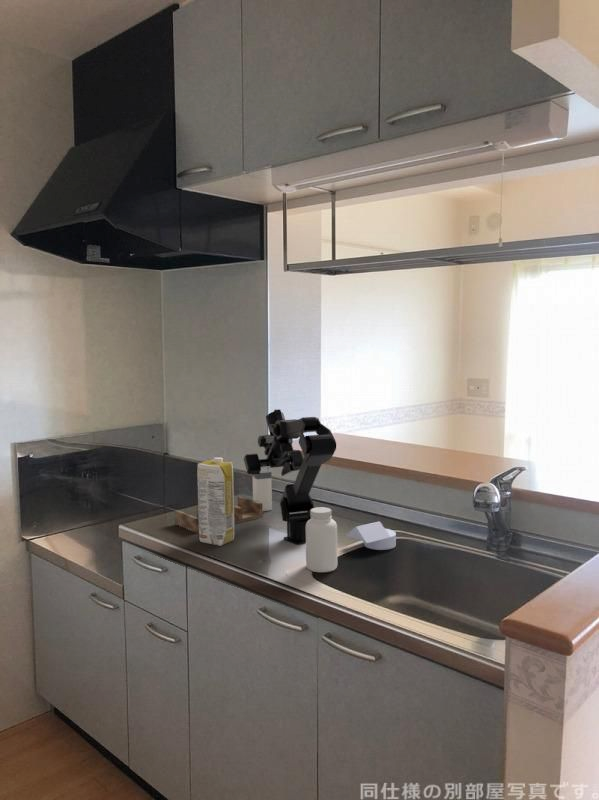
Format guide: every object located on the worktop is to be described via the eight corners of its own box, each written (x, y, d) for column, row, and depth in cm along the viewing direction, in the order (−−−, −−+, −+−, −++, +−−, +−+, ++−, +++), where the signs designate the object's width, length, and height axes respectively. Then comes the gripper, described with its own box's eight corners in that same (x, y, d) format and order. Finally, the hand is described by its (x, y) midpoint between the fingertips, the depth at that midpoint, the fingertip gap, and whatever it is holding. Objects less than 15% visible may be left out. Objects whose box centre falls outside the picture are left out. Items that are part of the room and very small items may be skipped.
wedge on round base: (366, 555, 172) (402, 545, 180) (366, 530, 172) (402, 522, 179) (345, 546, 180) (380, 537, 187) (345, 522, 179) (381, 514, 186)
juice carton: (238, 539, 186) (236, 457, 183) (221, 547, 179) (219, 462, 176) (212, 534, 190) (210, 454, 188) (195, 542, 184) (192, 459, 181)
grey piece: (271, 510, 215) (271, 472, 214) (257, 512, 214) (257, 473, 212) (267, 506, 220) (266, 469, 219) (253, 508, 218) (252, 470, 217)
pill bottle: (299, 566, 164) (299, 509, 163) (323, 559, 169) (323, 503, 168) (319, 575, 158) (318, 516, 156) (343, 568, 163) (343, 510, 161)
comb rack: (262, 516, 208) (262, 503, 207) (196, 533, 191) (195, 518, 191) (240, 509, 217) (240, 496, 216) (175, 524, 200) (174, 510, 200)
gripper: (301, 425, 206) (289, 453, 217) (244, 429, 199) (235, 457, 210) (310, 454, 199) (298, 481, 211) (253, 459, 192) (243, 487, 204)
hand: (268, 476), depth 209 cm, fingers open, 9 cm apart
